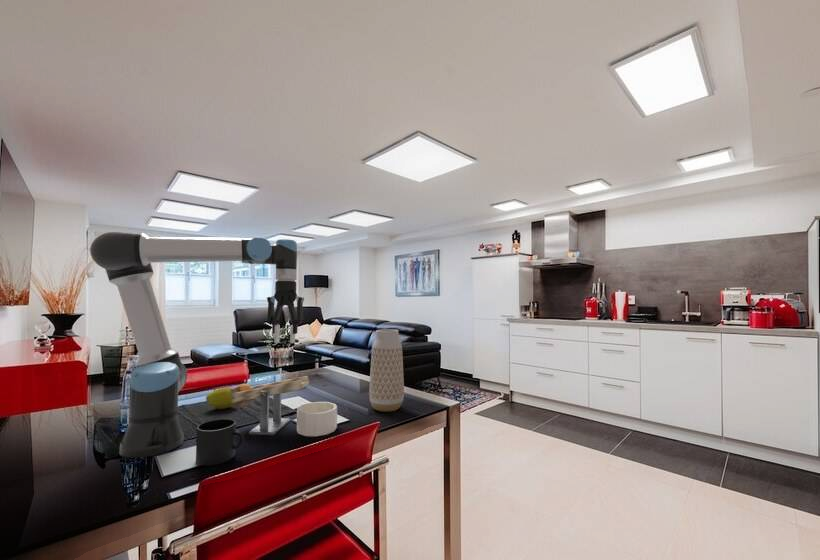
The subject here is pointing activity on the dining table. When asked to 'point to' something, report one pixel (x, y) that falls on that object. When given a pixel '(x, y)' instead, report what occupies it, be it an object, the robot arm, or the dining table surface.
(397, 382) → the vase
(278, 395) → the stand
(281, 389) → the lever
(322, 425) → the pot
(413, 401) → the dining table surface
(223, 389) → the lemon
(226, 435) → the mug
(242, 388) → the ball
